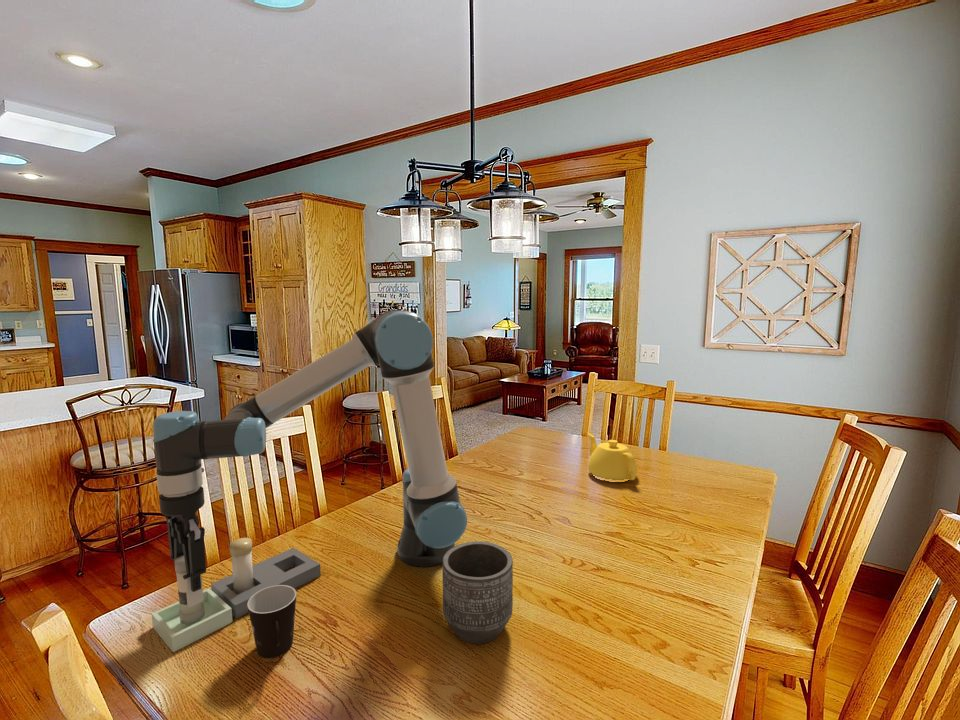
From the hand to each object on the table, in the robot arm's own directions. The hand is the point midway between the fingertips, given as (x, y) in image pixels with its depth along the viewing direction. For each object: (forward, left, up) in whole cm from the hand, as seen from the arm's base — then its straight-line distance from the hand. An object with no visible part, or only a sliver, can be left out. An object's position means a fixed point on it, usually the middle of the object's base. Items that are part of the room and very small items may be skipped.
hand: (190, 598), depth 98 cm
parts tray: (0, 0, -6) cm, 6 cm away
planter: (-46, -36, -6) cm, 59 cm away
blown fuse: (0, 0, -4) cm, 4 cm away
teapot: (-32, -133, -6) cm, 137 cm away
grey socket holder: (+1, -16, -6) cm, 18 cm away
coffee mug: (-20, -6, -6) cm, 22 cm away
